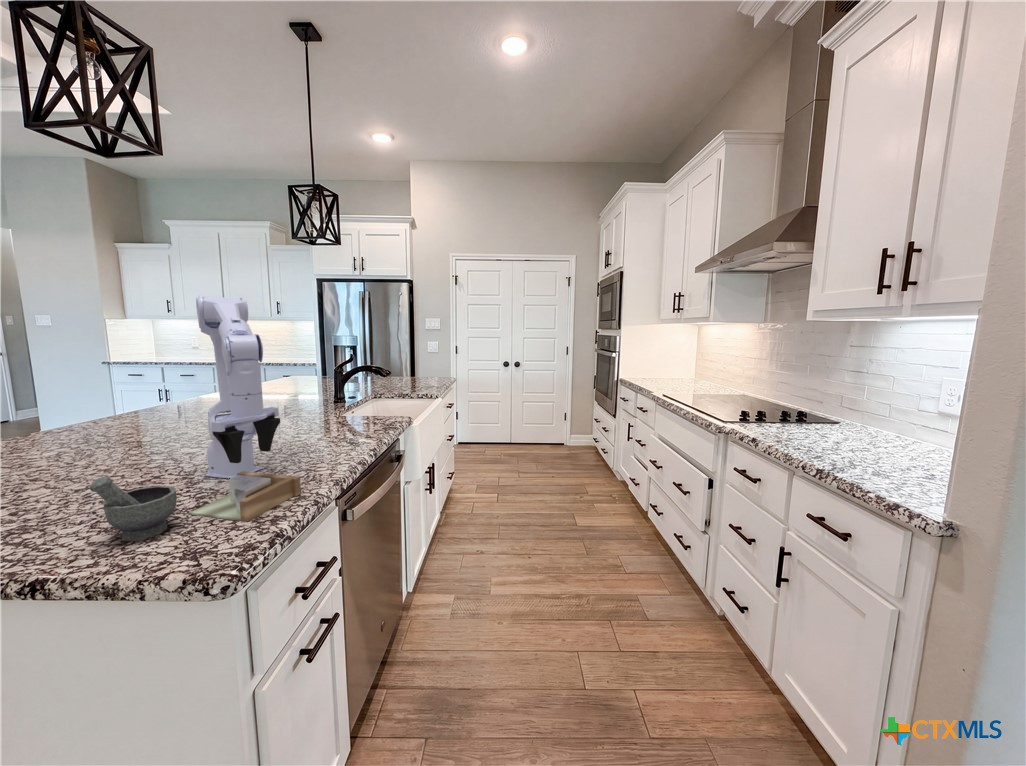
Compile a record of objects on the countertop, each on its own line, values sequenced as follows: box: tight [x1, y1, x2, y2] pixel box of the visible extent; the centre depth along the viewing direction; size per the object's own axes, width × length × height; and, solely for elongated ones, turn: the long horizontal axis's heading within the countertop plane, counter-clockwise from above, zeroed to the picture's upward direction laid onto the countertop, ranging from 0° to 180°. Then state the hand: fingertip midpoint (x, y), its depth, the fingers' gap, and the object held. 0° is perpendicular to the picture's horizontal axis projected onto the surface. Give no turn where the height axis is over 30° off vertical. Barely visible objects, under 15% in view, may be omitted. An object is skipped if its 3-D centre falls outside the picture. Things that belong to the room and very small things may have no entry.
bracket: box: [227, 475, 271, 513], centre depth 83 cm, size 8×6×5 cm
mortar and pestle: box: [89, 476, 178, 542], centre depth 71 cm, size 11×9×12 cm
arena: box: [188, 471, 302, 523], centre depth 84 cm, size 15×14×4 cm
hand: (250, 456), depth 85 cm, fingers open, 7 cm apart
